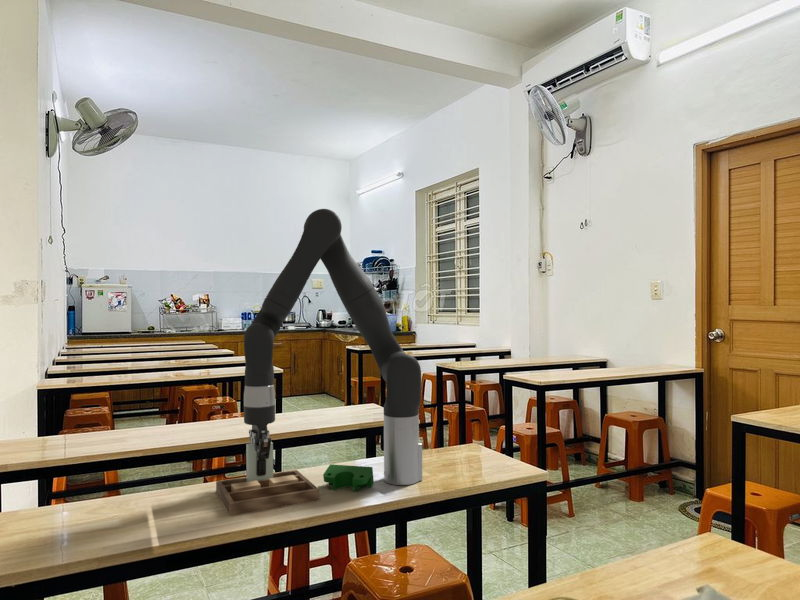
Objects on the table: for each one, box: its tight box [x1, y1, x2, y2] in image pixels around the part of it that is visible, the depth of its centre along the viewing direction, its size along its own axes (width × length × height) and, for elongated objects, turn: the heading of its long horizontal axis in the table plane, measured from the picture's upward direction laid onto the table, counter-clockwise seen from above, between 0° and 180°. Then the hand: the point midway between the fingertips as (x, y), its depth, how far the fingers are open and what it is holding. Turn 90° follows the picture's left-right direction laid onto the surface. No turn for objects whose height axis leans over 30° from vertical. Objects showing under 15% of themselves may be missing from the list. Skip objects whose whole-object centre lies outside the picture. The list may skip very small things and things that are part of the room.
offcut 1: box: [231, 480, 261, 492], centre depth 131 cm, size 6×4×3 cm, turn 117°
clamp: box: [322, 463, 375, 493], centre depth 137 cm, size 12×6×9 cm, turn 71°
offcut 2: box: [269, 475, 298, 486], centre depth 135 cm, size 6×4×3 cm, turn 117°
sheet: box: [245, 441, 274, 482], centre depth 137 cm, size 6×2×11 cm, turn 117°
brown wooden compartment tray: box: [215, 469, 320, 517], centre depth 132 cm, size 20×18×4 cm
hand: (259, 473), depth 137 cm, fingers closed on sheet, 2 cm apart
